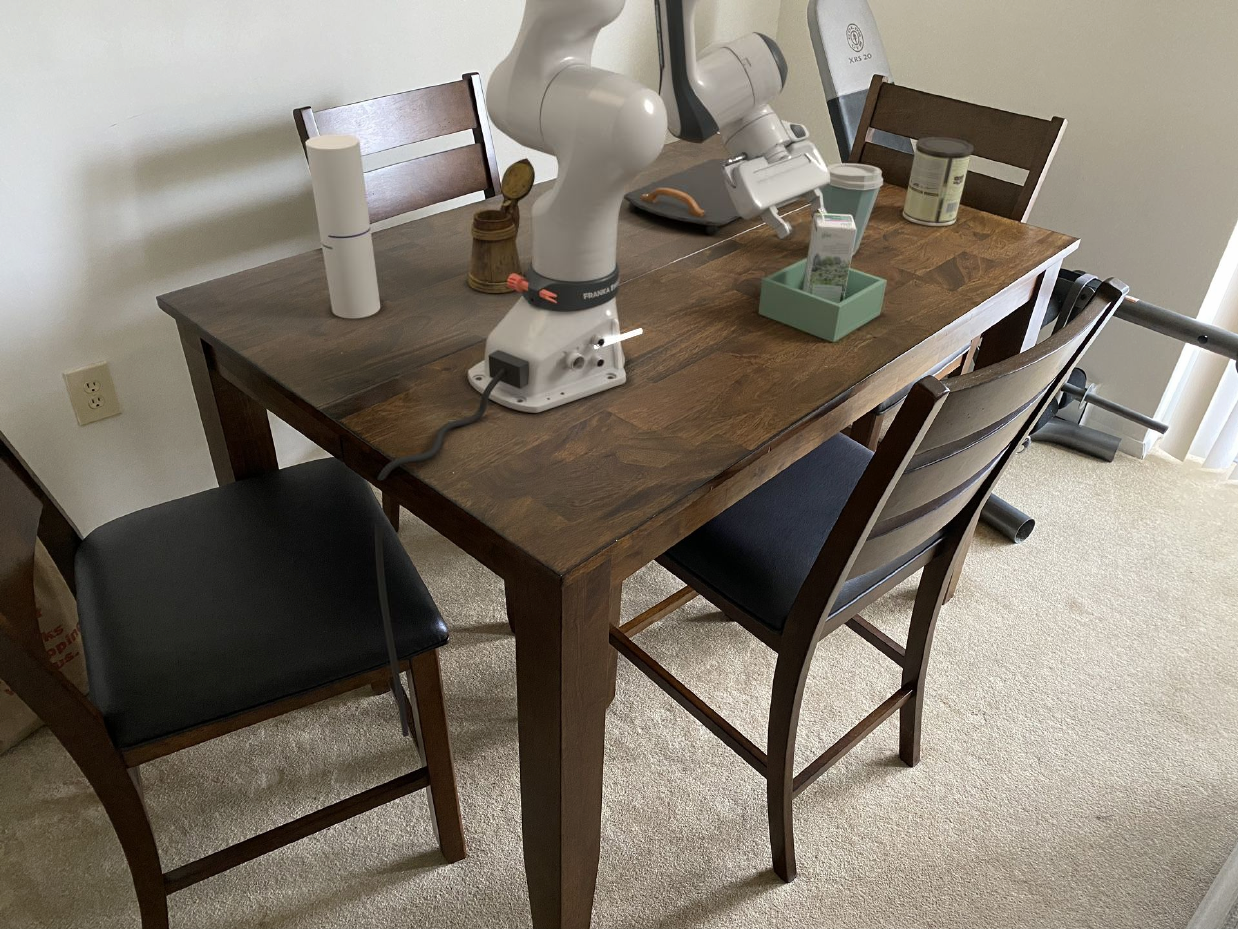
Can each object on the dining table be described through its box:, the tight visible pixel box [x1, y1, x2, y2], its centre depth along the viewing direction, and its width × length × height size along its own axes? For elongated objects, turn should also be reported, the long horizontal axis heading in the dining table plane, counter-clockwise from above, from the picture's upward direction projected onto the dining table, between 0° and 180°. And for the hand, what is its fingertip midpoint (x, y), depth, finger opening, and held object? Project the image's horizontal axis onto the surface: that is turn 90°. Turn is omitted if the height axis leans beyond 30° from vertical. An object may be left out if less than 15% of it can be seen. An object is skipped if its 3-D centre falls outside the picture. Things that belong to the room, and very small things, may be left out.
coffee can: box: [902, 136, 974, 227], centre depth 179 cm, size 10×10×14 cm
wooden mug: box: [467, 157, 536, 294], centre depth 149 cm, size 9×14×18 cm, turn 146°
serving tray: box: [623, 158, 742, 237], centre depth 185 cm, size 39×23×6 cm, turn 142°
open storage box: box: [758, 257, 888, 343], centre depth 144 cm, size 14×14×6 cm
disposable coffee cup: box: [820, 162, 884, 256], centre depth 163 cm, size 11×11×15 cm
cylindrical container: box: [305, 133, 381, 319], centre depth 136 cm, size 7×7×25 cm
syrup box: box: [802, 213, 857, 303], centre depth 141 cm, size 6×6×14 cm
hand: (805, 227), depth 141 cm, fingers open, 8 cm apart
